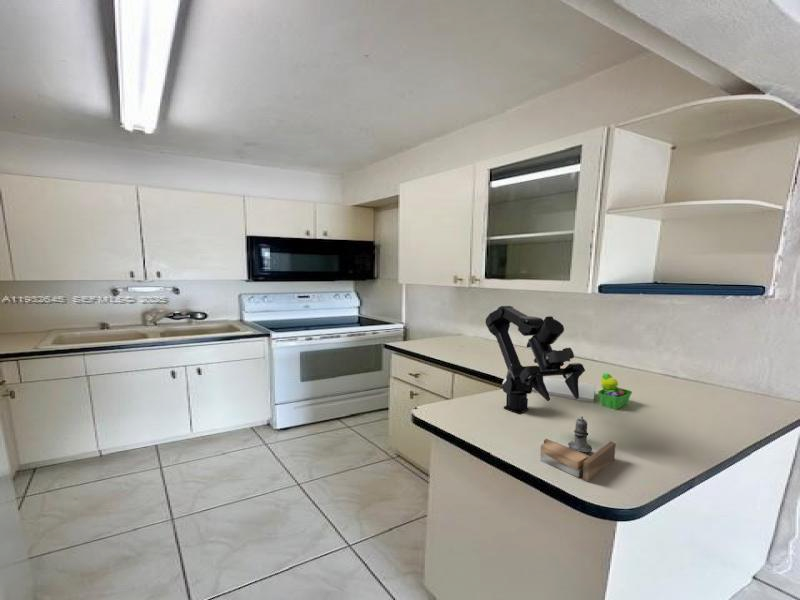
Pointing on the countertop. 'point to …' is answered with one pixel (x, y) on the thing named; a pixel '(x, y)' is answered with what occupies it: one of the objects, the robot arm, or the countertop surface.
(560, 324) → the robot arm
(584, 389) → the decorative molding
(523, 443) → the countertop surface
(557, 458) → the teak offcut
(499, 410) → the countertop surface
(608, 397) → the fruit basket
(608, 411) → the countertop surface
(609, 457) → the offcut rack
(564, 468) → the grey mdf offcut
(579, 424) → the grey rounded upright piece
